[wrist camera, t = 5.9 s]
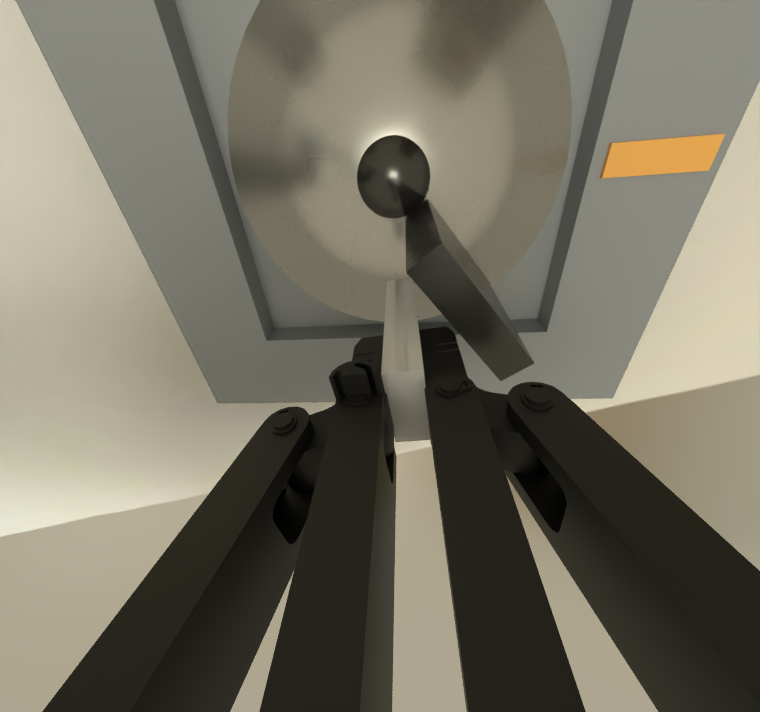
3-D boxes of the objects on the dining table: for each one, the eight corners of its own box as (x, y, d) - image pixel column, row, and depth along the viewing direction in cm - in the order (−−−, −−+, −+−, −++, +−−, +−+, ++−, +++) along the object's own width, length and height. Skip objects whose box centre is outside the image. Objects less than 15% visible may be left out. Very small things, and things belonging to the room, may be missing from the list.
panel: (236, 376, 25) (216, 405, 22) (-44, -279, 10) (-204, -424, 7) (589, 368, 22) (614, 400, 20) (925, -516, 7) (1208, -866, 5)
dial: (382, 350, 20) (371, 461, 14) (183, 160, 15) (-4, 185, 8) (611, 188, 15) (796, 240, 8) (421, -228, 9) (478, -1380, 2)
